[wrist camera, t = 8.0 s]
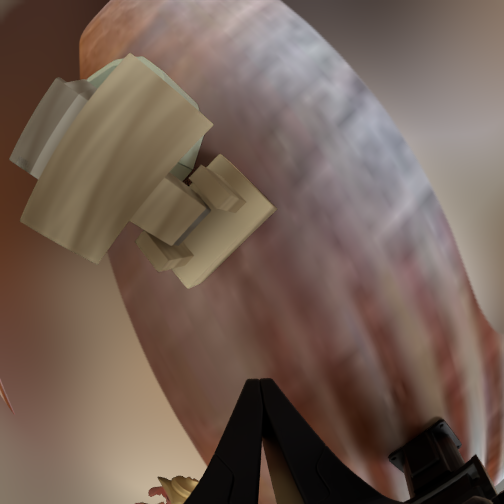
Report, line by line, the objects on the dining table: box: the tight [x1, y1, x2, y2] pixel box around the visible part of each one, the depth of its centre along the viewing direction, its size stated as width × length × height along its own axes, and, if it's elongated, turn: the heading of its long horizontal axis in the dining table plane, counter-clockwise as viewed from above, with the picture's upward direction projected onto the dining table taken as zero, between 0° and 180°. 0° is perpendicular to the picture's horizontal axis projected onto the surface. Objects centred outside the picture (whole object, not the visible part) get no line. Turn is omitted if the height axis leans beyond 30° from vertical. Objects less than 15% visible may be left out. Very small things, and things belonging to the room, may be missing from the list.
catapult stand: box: [135, 154, 277, 289], centre depth 18 cm, size 5×8×6 cm, turn 134°
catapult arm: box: [9, 53, 213, 264], centre depth 14 cm, size 5×10×11 cm
